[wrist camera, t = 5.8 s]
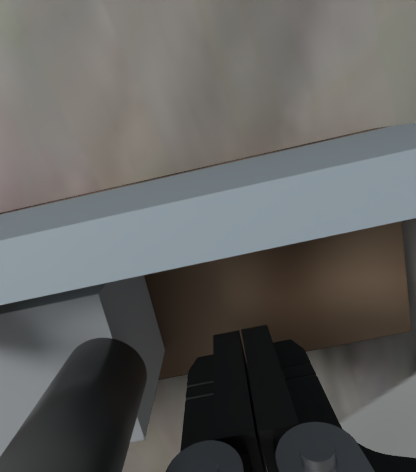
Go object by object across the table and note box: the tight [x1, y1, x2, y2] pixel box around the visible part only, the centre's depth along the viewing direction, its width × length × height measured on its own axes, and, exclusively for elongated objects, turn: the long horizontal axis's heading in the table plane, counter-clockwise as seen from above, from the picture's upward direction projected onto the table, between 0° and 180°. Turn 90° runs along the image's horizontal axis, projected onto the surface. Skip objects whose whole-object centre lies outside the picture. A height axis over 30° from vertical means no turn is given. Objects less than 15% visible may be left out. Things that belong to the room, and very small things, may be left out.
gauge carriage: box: [0, 275, 165, 472], centre depth 10 cm, size 9×6×10 cm, turn 103°
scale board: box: [0, 123, 416, 305], centre depth 10 cm, size 21×1×9 cm, turn 103°
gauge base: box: [0, 126, 411, 380], centre depth 16 cm, size 21×9×2 cm, turn 103°
